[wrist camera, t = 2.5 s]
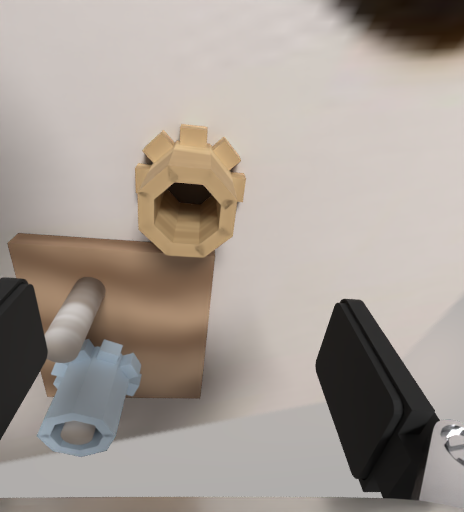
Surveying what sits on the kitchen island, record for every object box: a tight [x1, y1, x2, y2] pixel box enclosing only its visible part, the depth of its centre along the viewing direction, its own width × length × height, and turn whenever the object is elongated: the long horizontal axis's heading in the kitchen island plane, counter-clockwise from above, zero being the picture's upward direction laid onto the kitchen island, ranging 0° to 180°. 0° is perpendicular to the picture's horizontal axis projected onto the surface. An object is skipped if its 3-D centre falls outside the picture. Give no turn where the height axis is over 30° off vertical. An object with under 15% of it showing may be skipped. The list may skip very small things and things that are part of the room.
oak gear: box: [135, 124, 246, 258], centre depth 19 cm, size 7×7×6 cm
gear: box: [37, 339, 142, 457], centre depth 26 cm, size 7×7×6 cm
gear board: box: [7, 233, 215, 445], centre depth 25 cm, size 16×14×8 cm
